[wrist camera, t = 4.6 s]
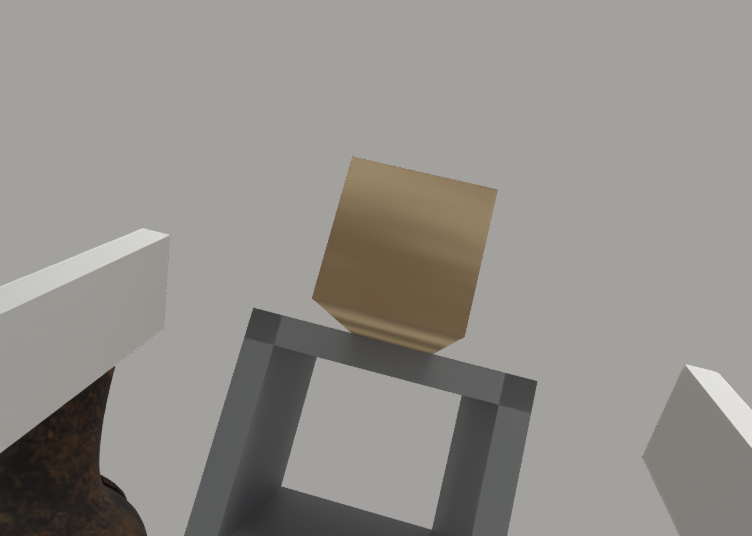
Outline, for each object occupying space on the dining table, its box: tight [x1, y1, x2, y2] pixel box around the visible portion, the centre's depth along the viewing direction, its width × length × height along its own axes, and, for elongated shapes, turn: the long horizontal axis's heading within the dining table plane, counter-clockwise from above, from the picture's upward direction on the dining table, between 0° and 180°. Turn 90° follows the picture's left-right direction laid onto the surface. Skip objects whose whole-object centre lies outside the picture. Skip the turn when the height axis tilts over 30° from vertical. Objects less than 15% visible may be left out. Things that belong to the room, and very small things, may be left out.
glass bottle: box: [0, 366, 147, 536], centre depth 40 cm, size 18×18×28 cm
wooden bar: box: [312, 157, 497, 354], centre depth 28 cm, size 30×4×4 cm, turn 178°
